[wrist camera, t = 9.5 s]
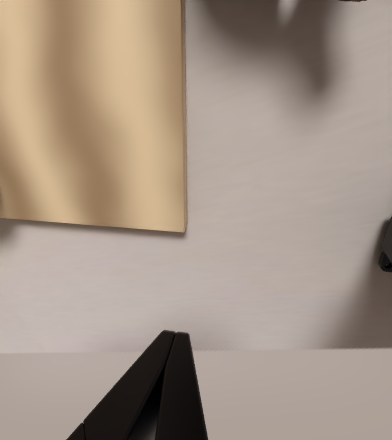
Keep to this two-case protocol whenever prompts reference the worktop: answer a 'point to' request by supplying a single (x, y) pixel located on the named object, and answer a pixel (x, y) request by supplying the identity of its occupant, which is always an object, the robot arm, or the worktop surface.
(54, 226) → the worktop surface
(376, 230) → the worktop surface
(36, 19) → the board
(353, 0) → the pottery mug
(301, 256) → the worktop surface
